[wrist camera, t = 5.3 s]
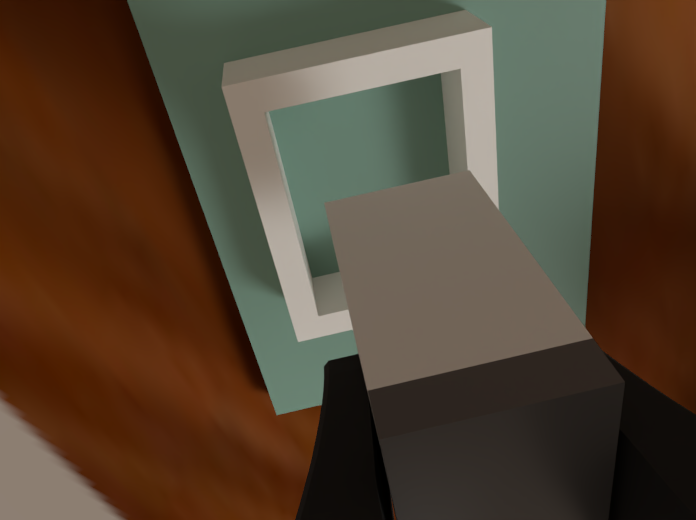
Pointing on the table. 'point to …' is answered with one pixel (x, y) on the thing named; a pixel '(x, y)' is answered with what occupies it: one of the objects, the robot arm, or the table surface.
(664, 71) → the table surface
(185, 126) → the socket board
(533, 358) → the plug
